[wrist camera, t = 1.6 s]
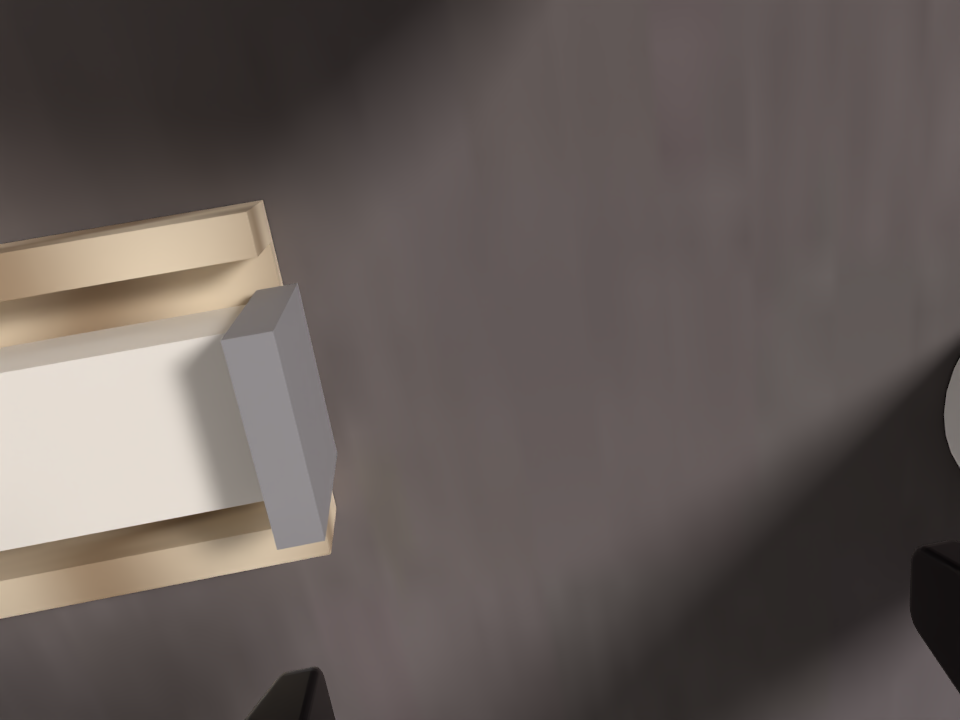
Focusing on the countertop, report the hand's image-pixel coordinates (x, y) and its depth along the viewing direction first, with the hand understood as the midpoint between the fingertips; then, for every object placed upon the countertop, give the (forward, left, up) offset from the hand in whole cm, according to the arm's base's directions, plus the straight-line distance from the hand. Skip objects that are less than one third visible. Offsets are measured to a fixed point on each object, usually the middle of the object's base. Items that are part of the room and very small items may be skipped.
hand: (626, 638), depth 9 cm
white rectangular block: (+9, 0, -12) cm, 15 cm away
